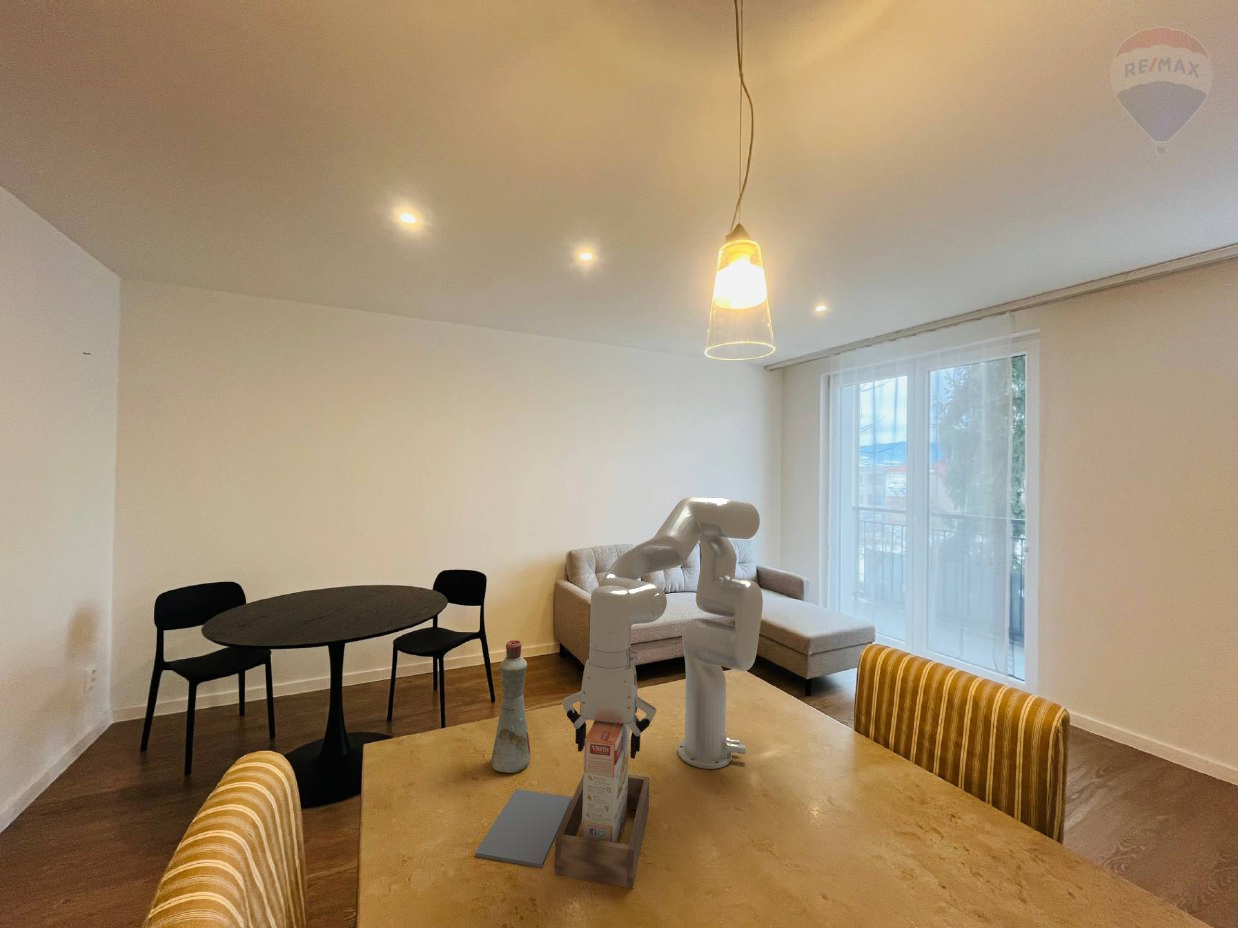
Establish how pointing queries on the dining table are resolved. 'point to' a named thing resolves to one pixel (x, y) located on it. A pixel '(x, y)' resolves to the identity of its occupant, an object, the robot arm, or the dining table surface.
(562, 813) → the slate mat
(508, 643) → the bottle
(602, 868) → the walnut crate
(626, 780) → the cracker box
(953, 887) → the dining table surface
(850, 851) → the dining table surface
